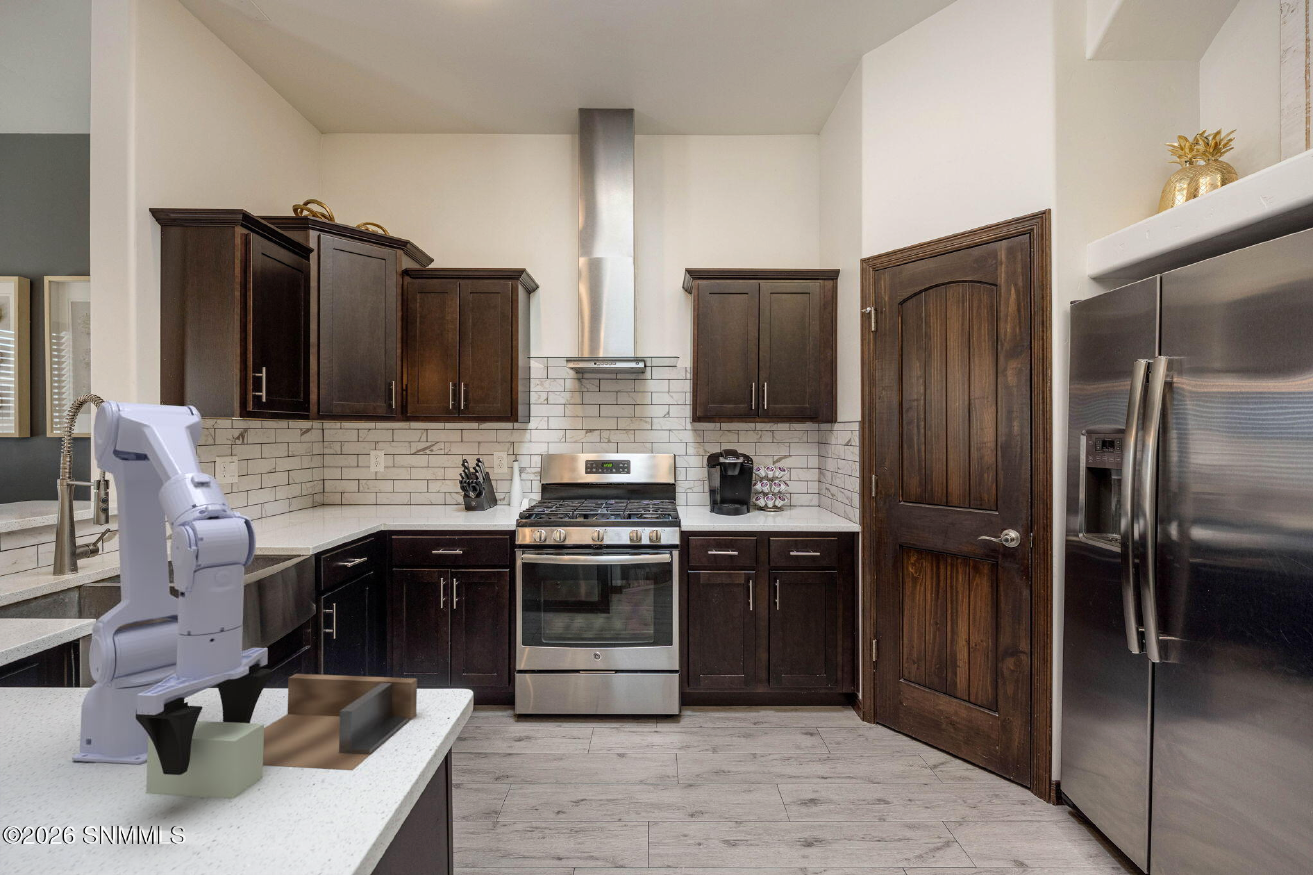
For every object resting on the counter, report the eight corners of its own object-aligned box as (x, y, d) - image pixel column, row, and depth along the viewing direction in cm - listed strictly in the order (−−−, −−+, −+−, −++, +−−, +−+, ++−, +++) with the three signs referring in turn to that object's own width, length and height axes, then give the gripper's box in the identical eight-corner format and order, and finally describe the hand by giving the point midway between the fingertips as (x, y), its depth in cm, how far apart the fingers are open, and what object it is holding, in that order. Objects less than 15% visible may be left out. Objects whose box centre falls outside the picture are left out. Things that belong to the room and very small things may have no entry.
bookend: (339, 752, 70) (339, 710, 71) (380, 720, 79) (381, 682, 80) (369, 754, 70) (370, 712, 70) (408, 721, 79) (408, 683, 79)
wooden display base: (207, 770, 68) (208, 718, 68) (294, 716, 83) (296, 673, 83) (352, 778, 67) (353, 725, 67) (416, 722, 81) (417, 678, 81)
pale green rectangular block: (145, 803, 62) (148, 736, 62) (179, 783, 66) (182, 720, 66) (232, 809, 61) (235, 741, 61) (262, 787, 65) (264, 723, 65)
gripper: (185, 650, 57) (180, 793, 56) (292, 612, 71) (289, 725, 70) (119, 648, 57) (113, 789, 57) (238, 610, 72) (235, 723, 71)
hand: (207, 754), depth 64 cm, fingers open, 7 cm apart
